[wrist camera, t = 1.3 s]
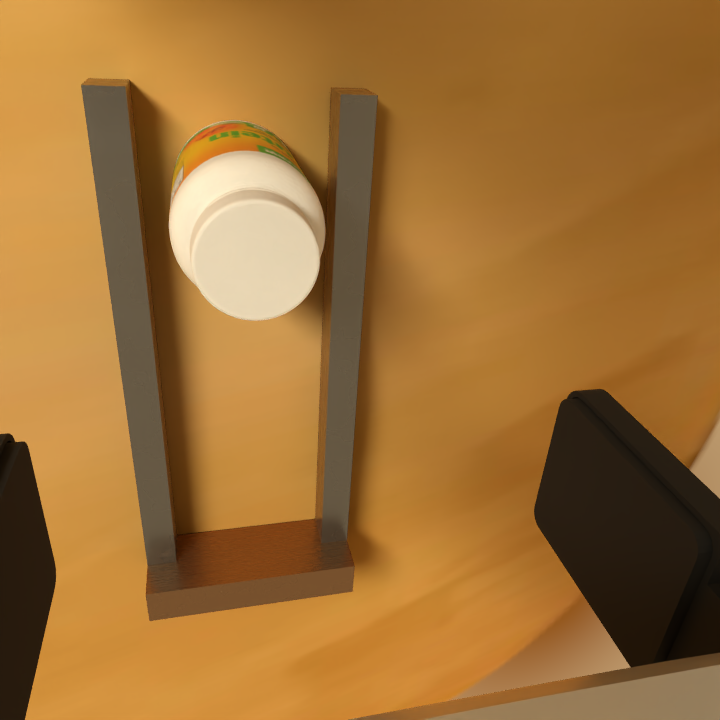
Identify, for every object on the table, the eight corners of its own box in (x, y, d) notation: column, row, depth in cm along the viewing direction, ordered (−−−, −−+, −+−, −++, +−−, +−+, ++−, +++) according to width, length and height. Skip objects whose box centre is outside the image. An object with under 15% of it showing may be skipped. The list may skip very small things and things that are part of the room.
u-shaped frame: (88, 78, 25) (72, 92, 21) (365, 88, 27) (390, 102, 24) (152, 563, 37) (149, 621, 34) (338, 540, 40) (352, 591, 37)
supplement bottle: (310, 134, 28) (362, 195, 19) (284, 251, 30) (321, 350, 22) (181, 103, 26) (178, 157, 18) (164, 231, 28) (156, 329, 20)
